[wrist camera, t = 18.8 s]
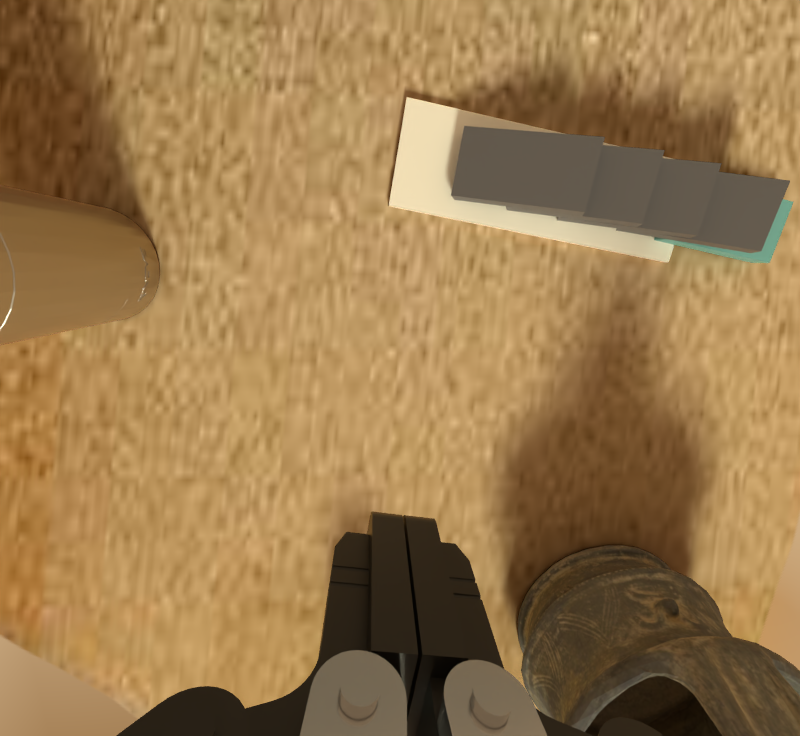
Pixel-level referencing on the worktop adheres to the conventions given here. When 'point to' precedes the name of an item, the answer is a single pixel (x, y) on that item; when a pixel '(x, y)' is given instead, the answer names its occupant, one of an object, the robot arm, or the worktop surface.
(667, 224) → the domino
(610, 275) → the worktop surface
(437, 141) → the strip
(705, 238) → the domino
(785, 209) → the domino
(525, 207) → the domino
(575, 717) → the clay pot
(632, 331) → the worktop surface
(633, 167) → the domino
